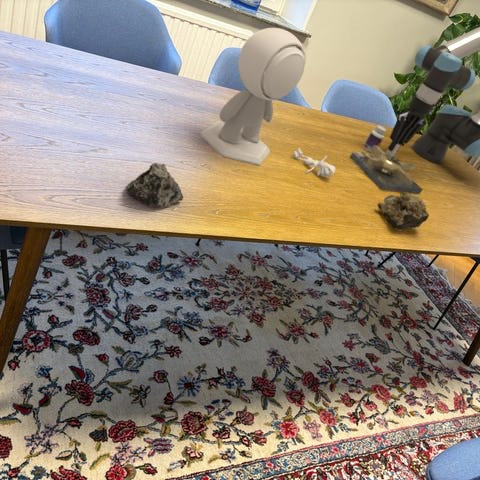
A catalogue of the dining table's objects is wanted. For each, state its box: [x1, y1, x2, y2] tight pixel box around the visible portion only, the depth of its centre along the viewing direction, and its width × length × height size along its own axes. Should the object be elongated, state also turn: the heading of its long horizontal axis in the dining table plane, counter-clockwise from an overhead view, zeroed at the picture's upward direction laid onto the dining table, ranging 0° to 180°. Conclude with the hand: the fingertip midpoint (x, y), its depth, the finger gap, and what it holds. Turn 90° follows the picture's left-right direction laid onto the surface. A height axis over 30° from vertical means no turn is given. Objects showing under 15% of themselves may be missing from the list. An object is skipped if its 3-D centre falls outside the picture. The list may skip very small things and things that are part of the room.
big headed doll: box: [199, 27, 306, 166], centre depth 127 cm, size 20×23×35 cm
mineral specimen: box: [377, 192, 430, 231], centre depth 135 cm, size 14×13×10 cm
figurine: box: [292, 147, 337, 179], centre depth 143 cm, size 12×5×15 cm
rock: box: [125, 162, 184, 209], centre depth 99 cm, size 13×10×10 cm
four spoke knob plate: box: [367, 145, 416, 185], centre depth 161 cm, size 22×22×4 cm
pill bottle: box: [362, 125, 387, 154], centre depth 177 cm, size 5×5×10 cm
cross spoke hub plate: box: [349, 150, 423, 195], centre depth 163 cm, size 20×20×3 cm
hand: (387, 157), depth 167 cm, fingers closed
